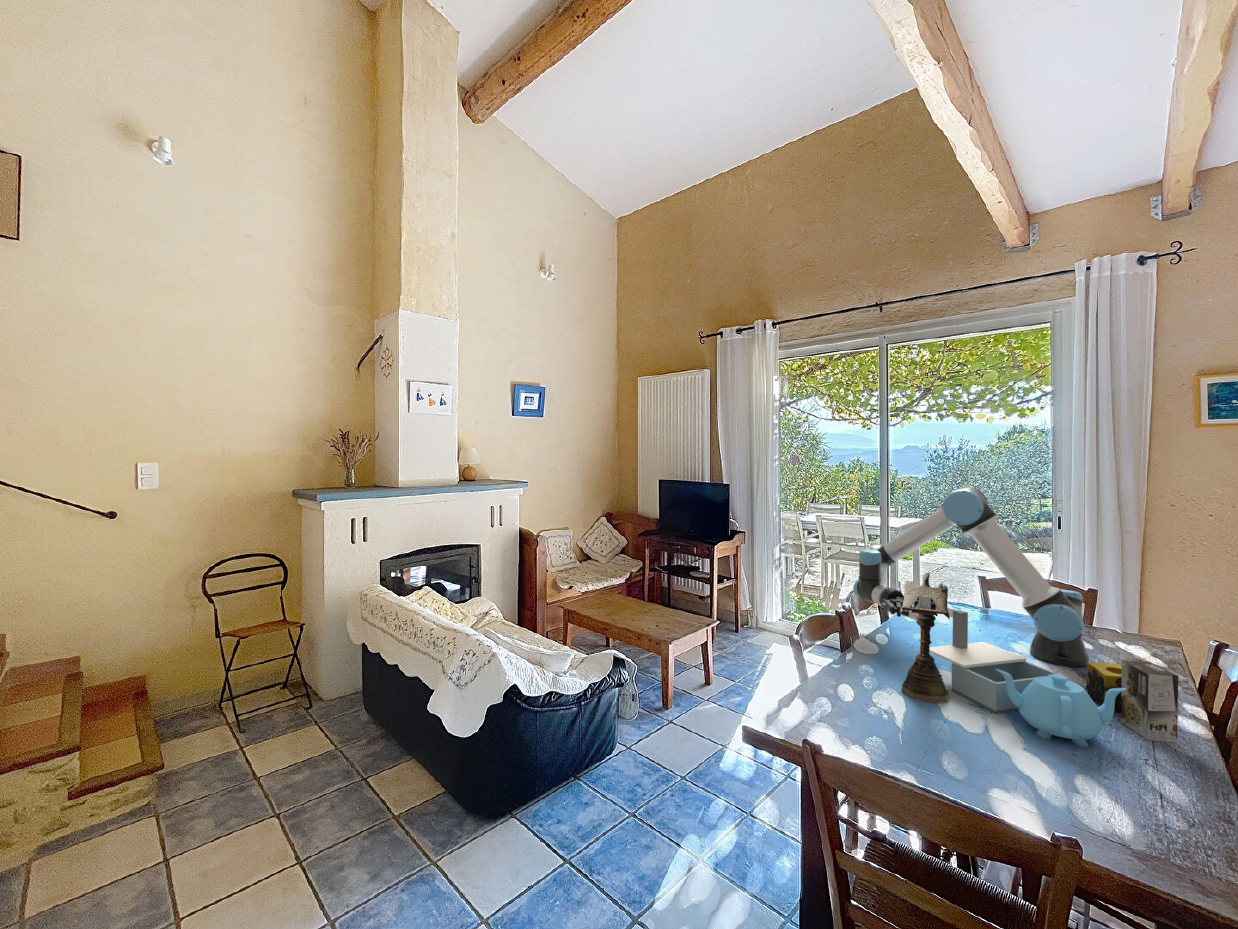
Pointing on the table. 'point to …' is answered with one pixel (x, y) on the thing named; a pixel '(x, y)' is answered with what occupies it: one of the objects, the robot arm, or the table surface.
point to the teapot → (1061, 707)
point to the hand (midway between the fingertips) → (935, 614)
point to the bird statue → (925, 641)
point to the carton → (994, 683)
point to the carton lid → (971, 648)
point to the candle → (1104, 682)
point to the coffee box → (1150, 700)
